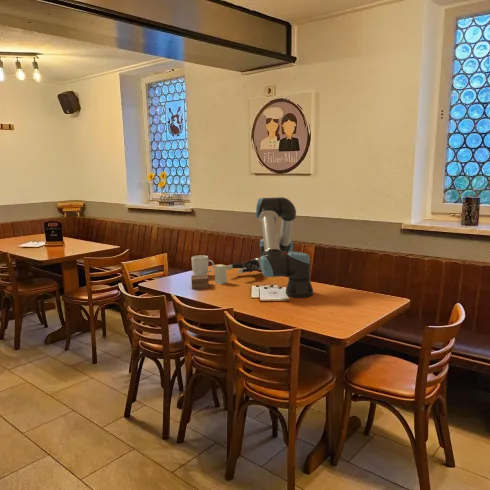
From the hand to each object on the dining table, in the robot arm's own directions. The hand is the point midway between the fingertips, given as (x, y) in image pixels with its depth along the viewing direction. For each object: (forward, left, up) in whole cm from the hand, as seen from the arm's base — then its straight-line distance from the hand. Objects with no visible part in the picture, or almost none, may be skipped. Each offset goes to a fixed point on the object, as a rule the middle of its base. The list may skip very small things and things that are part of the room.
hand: (231, 270), depth 273 cm
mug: (+16, +18, -7) cm, 25 cm away
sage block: (-5, +7, -6) cm, 11 cm away
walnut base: (-10, +20, -6) cm, 23 cm away
